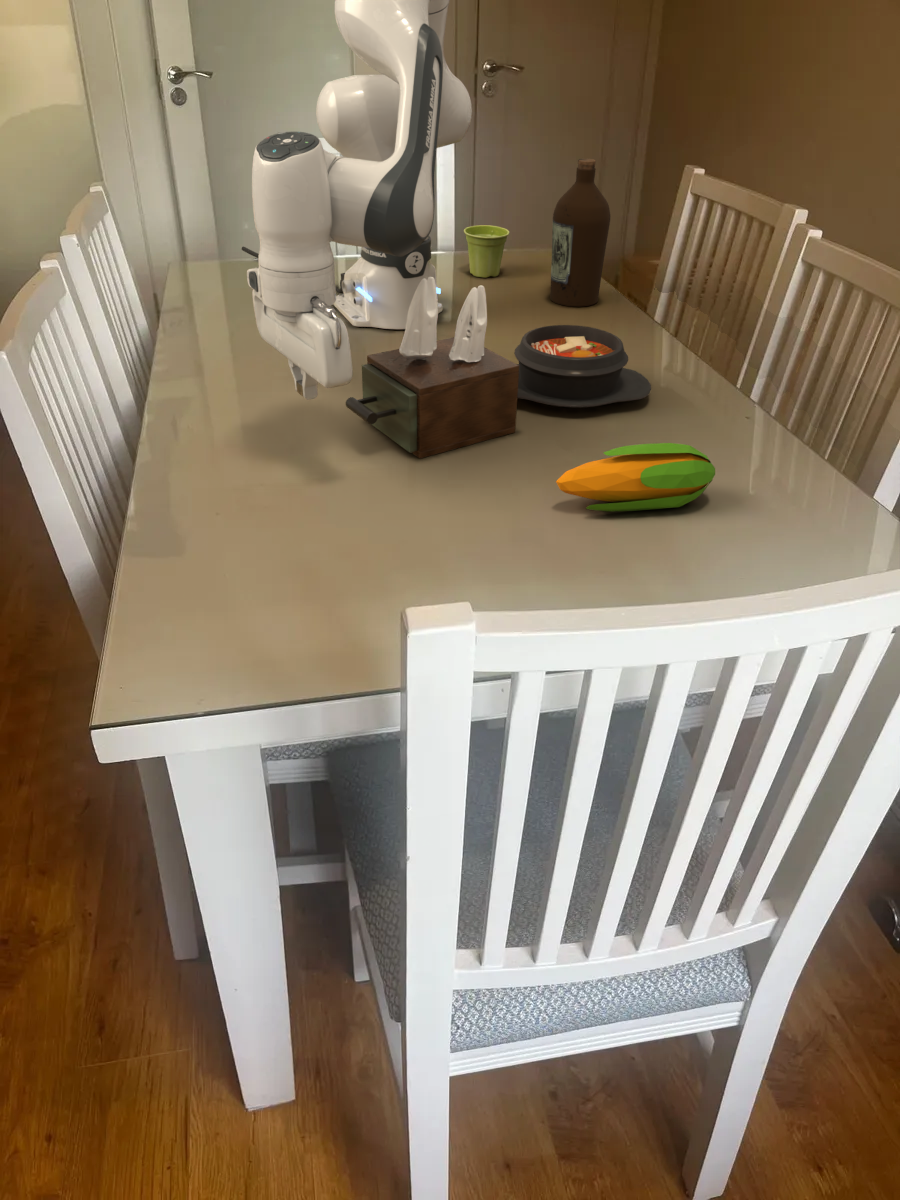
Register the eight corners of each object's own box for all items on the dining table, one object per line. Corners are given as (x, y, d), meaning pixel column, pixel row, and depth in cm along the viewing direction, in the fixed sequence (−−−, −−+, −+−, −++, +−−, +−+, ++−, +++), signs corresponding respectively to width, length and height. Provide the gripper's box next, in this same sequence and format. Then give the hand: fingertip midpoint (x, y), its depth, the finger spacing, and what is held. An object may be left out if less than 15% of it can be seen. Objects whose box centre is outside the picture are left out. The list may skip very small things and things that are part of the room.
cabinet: (419, 458, 121) (419, 389, 116) (369, 421, 131) (366, 355, 125) (515, 432, 129) (519, 365, 123) (460, 399, 138) (462, 335, 132)
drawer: (380, 460, 119) (379, 403, 114) (335, 425, 127) (332, 371, 123) (499, 428, 127) (502, 374, 123) (449, 397, 136) (450, 345, 131)
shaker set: (399, 367, 121) (398, 283, 115) (396, 356, 125) (395, 273, 118) (488, 364, 123) (492, 280, 117) (483, 353, 126) (486, 271, 120)
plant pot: (512, 270, 194) (514, 227, 189) (499, 282, 187) (502, 238, 182) (470, 265, 197) (471, 223, 192) (456, 277, 189) (457, 233, 184)
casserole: (486, 417, 133) (488, 361, 128) (485, 369, 148) (487, 317, 143) (658, 421, 132) (667, 365, 127) (640, 373, 147) (647, 322, 143)
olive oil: (583, 289, 184) (596, 153, 170) (611, 304, 176) (628, 163, 162) (537, 295, 181) (546, 156, 166) (563, 311, 173) (576, 167, 158)
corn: (732, 453, 107) (569, 465, 103) (722, 512, 111) (564, 525, 107) (705, 430, 113) (550, 441, 110) (696, 487, 117) (546, 499, 114)
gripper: (363, 307, 103) (367, 420, 112) (286, 261, 117) (295, 364, 125) (313, 316, 101) (320, 431, 109) (240, 268, 114) (252, 373, 122)
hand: (306, 395), depth 117 cm, fingers closed
